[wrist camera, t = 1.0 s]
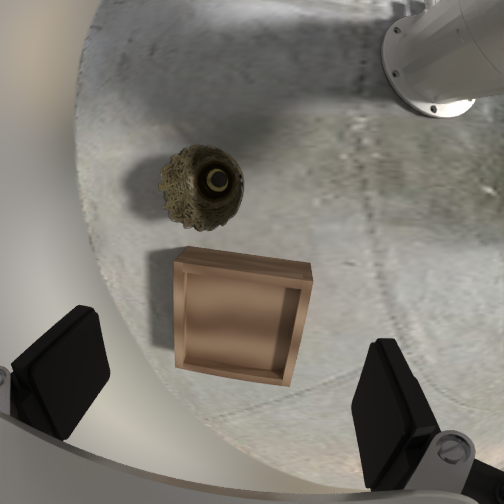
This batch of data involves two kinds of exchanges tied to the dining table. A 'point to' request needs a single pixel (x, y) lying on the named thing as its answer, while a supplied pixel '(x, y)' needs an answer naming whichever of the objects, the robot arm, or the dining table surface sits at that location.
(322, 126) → the dining table surface
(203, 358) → the shallow wooden tray
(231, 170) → the cup
